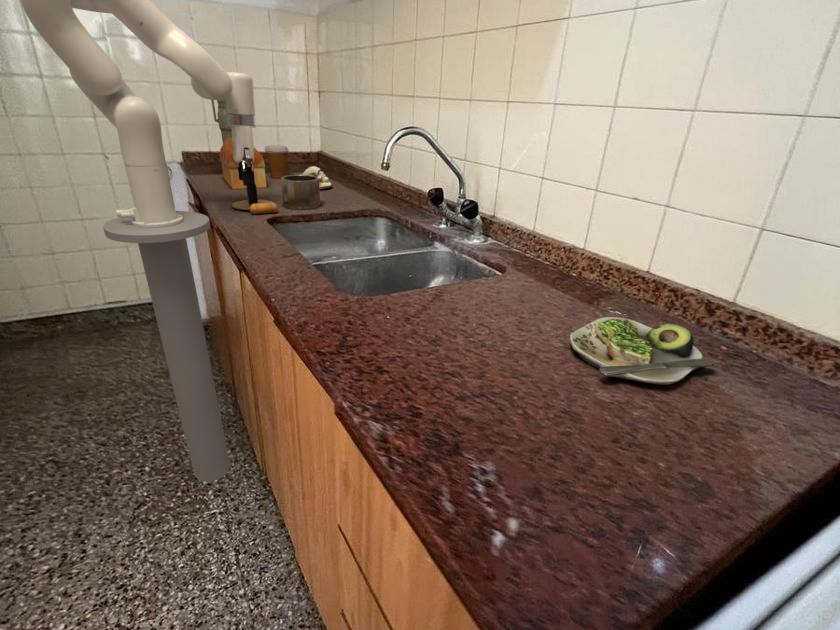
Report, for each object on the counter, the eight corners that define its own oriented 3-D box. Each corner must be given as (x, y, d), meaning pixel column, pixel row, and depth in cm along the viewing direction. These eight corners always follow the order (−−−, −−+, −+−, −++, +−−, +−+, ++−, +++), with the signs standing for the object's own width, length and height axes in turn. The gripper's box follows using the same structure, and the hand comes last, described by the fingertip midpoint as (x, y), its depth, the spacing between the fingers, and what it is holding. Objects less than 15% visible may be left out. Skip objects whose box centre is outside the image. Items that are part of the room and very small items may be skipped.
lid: (235, 213, 132) (231, 188, 129) (230, 204, 142) (226, 181, 139) (278, 210, 137) (275, 186, 134) (270, 201, 147) (268, 179, 144)
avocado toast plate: (658, 415, 55) (669, 384, 53) (540, 352, 67) (546, 325, 65) (721, 366, 66) (732, 338, 64) (610, 320, 78) (616, 296, 76)
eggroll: (251, 215, 131) (249, 205, 129) (249, 213, 133) (248, 203, 132) (279, 213, 134) (278, 203, 133) (277, 211, 136) (276, 201, 135)
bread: (222, 177, 182) (216, 138, 175) (254, 176, 187) (250, 138, 181) (232, 189, 162) (226, 145, 156) (267, 187, 168) (263, 145, 161)
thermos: (251, 174, 191) (240, 81, 176) (221, 174, 188) (207, 80, 172) (251, 170, 199) (240, 81, 183) (222, 171, 195) (209, 80, 179)
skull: (337, 182, 177) (331, 164, 167) (331, 204, 173) (326, 187, 164) (307, 179, 178) (300, 161, 168) (301, 201, 174) (294, 184, 164)
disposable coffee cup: (286, 179, 184) (283, 148, 179) (263, 178, 184) (260, 147, 179) (293, 175, 192) (291, 146, 187) (272, 174, 193) (269, 144, 187)
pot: (288, 210, 138) (285, 182, 134) (280, 202, 147) (278, 175, 143) (324, 208, 143) (323, 180, 139) (315, 200, 152) (313, 174, 148)
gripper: (224, 118, 134) (230, 178, 141) (231, 122, 120) (237, 187, 127) (251, 120, 137) (255, 178, 144) (260, 124, 123) (264, 187, 130)
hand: (246, 182), depth 136 cm, fingers open, 9 cm apart
